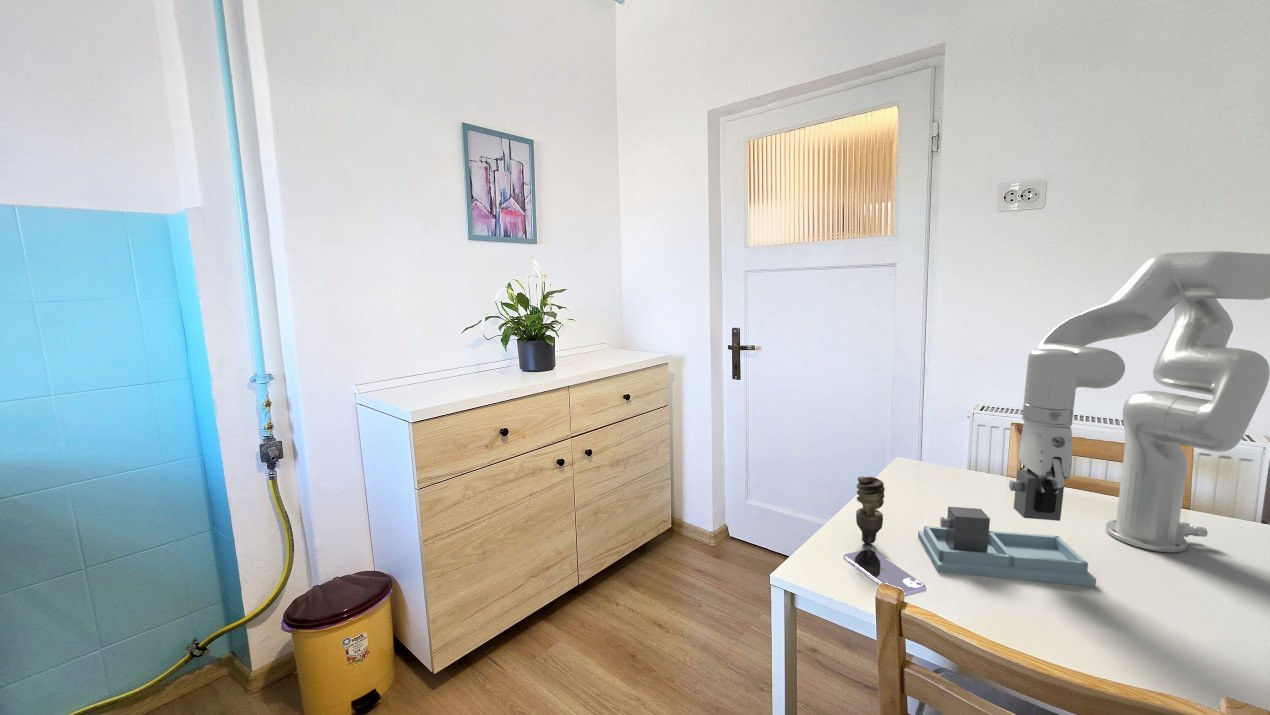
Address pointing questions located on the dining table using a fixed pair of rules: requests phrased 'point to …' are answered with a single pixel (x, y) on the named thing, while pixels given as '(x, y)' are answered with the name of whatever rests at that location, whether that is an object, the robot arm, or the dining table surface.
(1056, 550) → the tray
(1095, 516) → the dining table surface
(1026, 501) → the plug block
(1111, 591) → the dining table surface
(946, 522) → the docked twin block
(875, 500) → the light bulb
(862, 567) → the mobile phone
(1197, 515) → the dining table surface
